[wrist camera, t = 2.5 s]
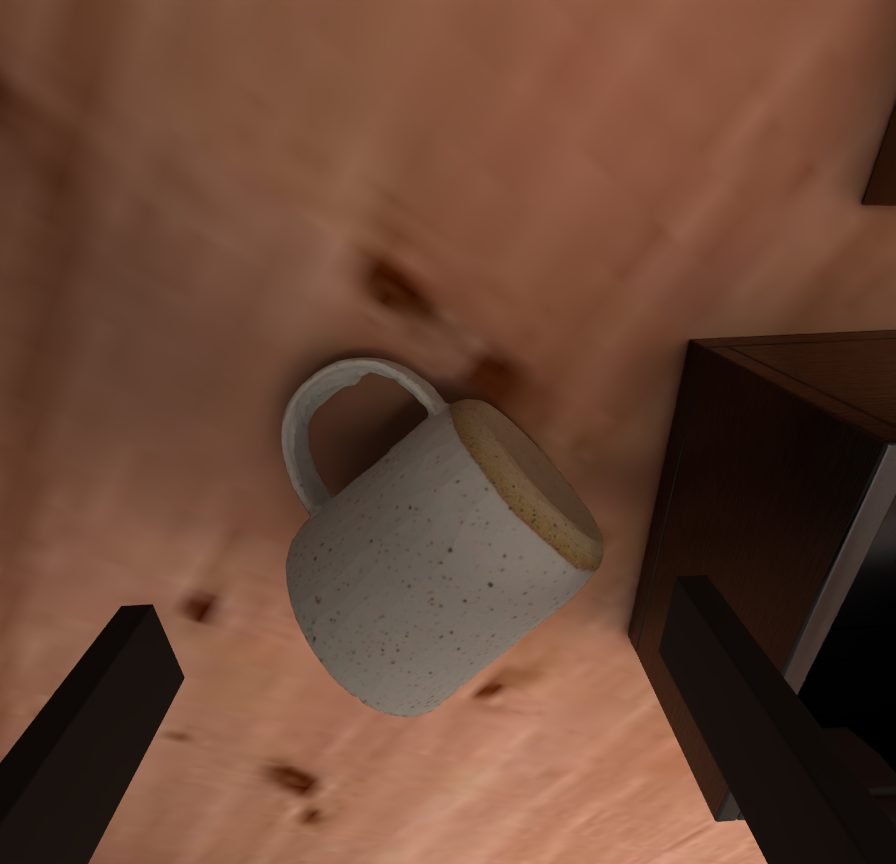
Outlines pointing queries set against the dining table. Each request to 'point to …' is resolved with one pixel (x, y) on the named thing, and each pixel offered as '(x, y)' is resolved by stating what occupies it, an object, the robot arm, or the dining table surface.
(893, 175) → the panel
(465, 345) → the dining table surface
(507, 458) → the ceramic mug
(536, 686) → the dining table surface
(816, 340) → the dark brown open box
